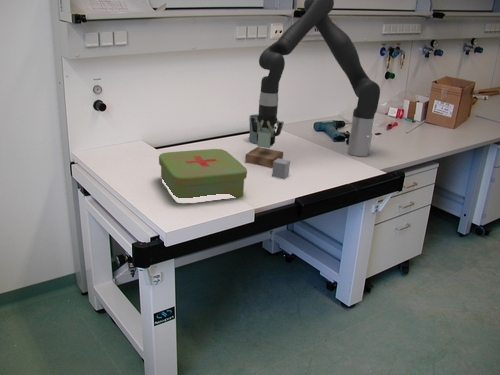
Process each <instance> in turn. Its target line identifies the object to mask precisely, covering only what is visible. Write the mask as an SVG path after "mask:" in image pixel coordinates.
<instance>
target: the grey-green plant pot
mask: <svg viewBox="0 0 500 375" xmlns="http://www.w3.org/2000/svg"><path fill="white" fill-rule="evenodd" d="M258 115H259V113H257V114H254V113H253V114H251V115H249V135H248V136H249V138H248V139H249V143H251V144H253V145H257V144H258V141H257V133H256V132H253V130H252V123H251V118H252V117H258ZM259 125H260V123H259V121H258V120H257V128H258V127H259ZM263 130H269V129H268V128H263Z"/></svg>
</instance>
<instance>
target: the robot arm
mask: <svg viewBox="0 0 500 375" xmlns="http://www.w3.org/2000/svg"><path fill="white" fill-rule="evenodd" d="M334 5H335V0H304V4H303V7H304V11H305V13H304V14H303V15H302V16H301V17H300V18H298V19H297V20H296V21H295V22H294V23H292V24H291V25H290V27H288V28H287V29H286V30H285V31H284V32H283V33H282V35H280V37H279V38H278V40H277V41H275V42H274V43H272V44H271V45H269V46H268V47H267V48H265V49H264V50H263V51H262V53H261V54H260V55H259V58H258V64H259V66H260V68H261V69H263V70H266V71H269V72H268V75H267V76H262V78H261V81H260V93H259V99H258V114H259V115H258V117H252V118H251V123H252V130H253V132H256V133H257V141H258V132H260V131H261V130H263V128H268V129H269V131H270V133H271V140H270V145H273V146H274V145H275V143H276V137H279V136H280V135H281V132H282V129H283V126H284V124H285V123H284V121H283V120H282V121H280V120H278V117H277V116H278V108H279V87H280V80H281V78H282V75H283V72H284V70H285V65H286V62H285V57H284V56H287V55H290V54H291V53H292V52H293V51H294V50H295V48H297V46H298V45H299V44H300V42H301V41H302V40H303V39H304V37H306V35H307V34H308V33H309V32H310V31H311V30H312V29H313V28H314V27H316V29H317V30H318V33H320V35H321V37H322V39H323V40H324V42H325V43H326V45H327V47H328V49H329V50H330V52H331V54H332V56H333V58H335V61H336V62H337V64H338V66H339V67H340V69H341V70H342V71H343V72H344V74H345V75H346V77H347V79H348V81H349V83H350V85H351V88H352V90H353V92H354V94H355V96H356V97H357V98H358V99H357V105H356V107H355V108H354V109H353V111H352V119H351V120H352V121H351V124H350V125H351V128H350V133H349V139H348V145H347V146H348V147H347V154H348V155H351V156H354V157H368V156H369V154H370V150H371V144H372V137H373V133H372V132H373V128H374V127H373V126H374V120H375V115H376V113H377V110H378V106H379V100H380V95H381V86H379V84H378V83H377V82H376V81H373V80H372V79H371V78H370V77H369V76H368V75H367V73H366V71H365V70H364V68H363V66H362V64H361V61H360V56H359V52H358V51H357V49H356V46H355V44H354V43H353V41H352V39H351V38H350V36H349V35H348V34H347V33H346V32H344V30H342V29H341V28H340V27H339V26H338V25H336V24H335V23H334V21H333V20H332V19H331V17H330V16H329V14H330V13H331V12H332V10H333V9H334ZM257 120H258V121H259V123H260V125H259V127H258V128H257ZM275 125H276V126H277V128H276V126H275Z"/></svg>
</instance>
